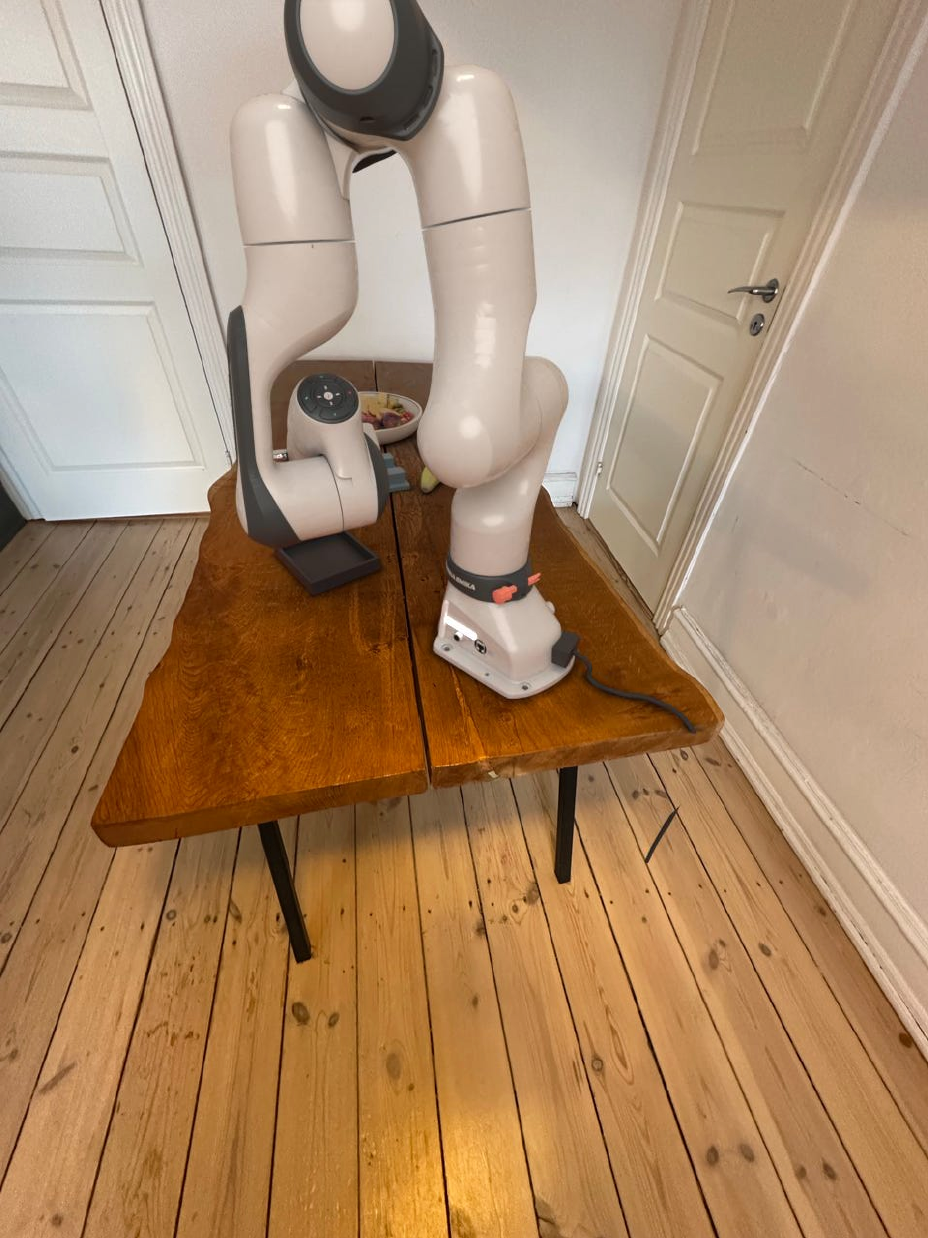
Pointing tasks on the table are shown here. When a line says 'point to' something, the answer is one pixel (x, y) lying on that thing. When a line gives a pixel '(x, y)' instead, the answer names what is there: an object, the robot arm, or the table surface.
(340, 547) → the tray
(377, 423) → the bowl
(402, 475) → the holder
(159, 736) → the table surface
